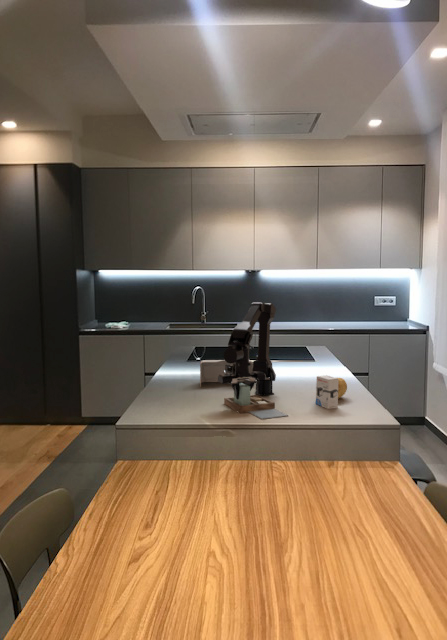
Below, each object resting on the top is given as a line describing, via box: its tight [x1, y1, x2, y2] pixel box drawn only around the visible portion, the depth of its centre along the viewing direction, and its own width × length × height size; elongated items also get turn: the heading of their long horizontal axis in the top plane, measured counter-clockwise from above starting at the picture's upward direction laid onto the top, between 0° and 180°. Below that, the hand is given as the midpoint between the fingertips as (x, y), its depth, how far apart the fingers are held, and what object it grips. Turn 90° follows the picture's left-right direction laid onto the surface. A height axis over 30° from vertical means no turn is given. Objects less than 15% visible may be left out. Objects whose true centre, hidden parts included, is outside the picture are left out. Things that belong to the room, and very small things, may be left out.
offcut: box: [250, 396, 262, 403], centre depth 207 cm, size 3×5×2 cm, turn 33°
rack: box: [223, 394, 276, 414], centre depth 204 cm, size 15×15×2 cm
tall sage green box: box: [233, 382, 251, 406], centre depth 202 cm, size 4×8×9 cm, turn 23°
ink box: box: [315, 375, 339, 410], centre depth 203 cm, size 8×5×12 cm, turn 25°
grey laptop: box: [199, 359, 254, 388], centre depth 243 cm, size 25×16×12 cm, turn 92°
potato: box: [337, 377, 348, 400], centre depth 213 cm, size 10×14×10 cm
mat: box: [248, 408, 289, 420], centre depth 192 cm, size 11×11×1 cm
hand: (241, 398), depth 202 cm, fingers closed on tall sage green box, 3 cm apart
